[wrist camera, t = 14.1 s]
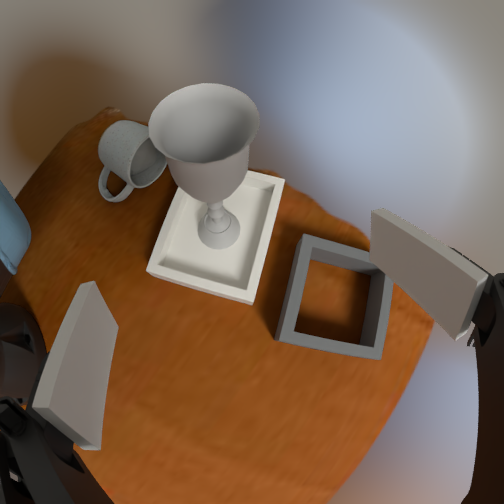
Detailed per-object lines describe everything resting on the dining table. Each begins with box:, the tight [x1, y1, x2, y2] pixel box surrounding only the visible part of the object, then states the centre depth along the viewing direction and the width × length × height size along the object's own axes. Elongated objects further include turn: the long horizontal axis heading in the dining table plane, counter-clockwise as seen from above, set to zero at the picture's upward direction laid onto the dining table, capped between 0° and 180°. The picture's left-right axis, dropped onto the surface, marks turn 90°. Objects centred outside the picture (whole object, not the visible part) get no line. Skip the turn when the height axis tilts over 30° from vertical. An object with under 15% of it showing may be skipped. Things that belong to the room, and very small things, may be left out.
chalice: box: [148, 83, 259, 250], centre depth 24 cm, size 7×7×18 cm
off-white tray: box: [146, 170, 285, 305], centre depth 32 cm, size 12×15×3 cm
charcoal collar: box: [274, 234, 394, 360], centre depth 29 cm, size 11×11×4 cm
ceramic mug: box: [98, 120, 167, 202], centre depth 31 cm, size 11×8×8 cm
